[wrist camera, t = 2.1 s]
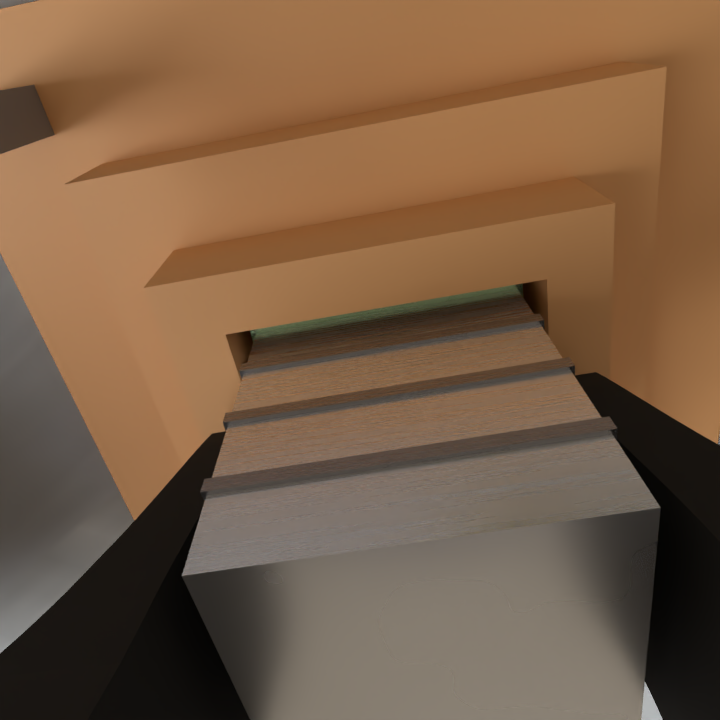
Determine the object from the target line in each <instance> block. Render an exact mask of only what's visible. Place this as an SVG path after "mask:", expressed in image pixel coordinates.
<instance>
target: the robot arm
mask: <svg viewBox="0 0 720 720" xmlns="http://www.w3.org/2000/svg"><path fill="white" fill-rule="evenodd" d="M575 378H576V379H577V381H578V382H579V384H580V385H581V387H582V388H583V390H584V391H585V393H586V394H587V396H588V398H589V399H590V401H591V402H592V404H593V405H594V407H595V408H596V410H597V411H598V413H599V414H600V416H601V417H610V418H611V420H612V421H613V422H614V424H615V425H616V427H617V428H618V430H617V442H618V443H619V445H620V446H621V448H622V449H623V451H624V453H625V454H626V456H627V457H628V459H629V460H630V462H631V463H632V465H633V466H634V468H635V469H636V471H637V472H638V474H639V475H640V477H641V478H642V480H643V482H644V483H645V485H646V486H647V488H648V489H649V491H650V492H651V494H652V495H653V497H654V498H655V500H656V501H657V503H658V504H659V506H660V508H661V509H660V520H659V531H658V542H657V553H656V563H655V574H654V585H653V596H652V607H651V617H650V628H649V639H648V650H647V661H646V671H645V682H646V684H647V686H648V688H649V690H650V692H651V694H652V696H653V699H654V701H655V703H656V705H657V707H658V710H659V712H660V714H661V716H662V718H663V720H720V445H718V444H716V443H715V442H713V441H711V440H709V439H708V438H706V437H704V436H702V435H701V434H699V433H697V432H696V431H694V430H692V429H690V428H689V427H687V426H685V425H684V424H682V423H680V422H679V421H677V420H675V419H674V418H672V417H670V416H669V415H667V414H665V413H664V412H662V411H660V410H659V409H657V408H655V407H654V406H652V405H651V404H649V403H647V402H646V401H644V400H642V399H641V398H639V397H637V396H636V395H634V394H633V393H631V392H629V391H628V390H626V389H624V388H623V387H621V386H619V385H618V384H616V383H614V382H613V381H611V380H609V379H608V378H606V377H604V376H602V375H601V374H599V373H597V372H593V373H587V374H580V375H575ZM225 433H226V431H224V432H218V433H212V434H211V435H210V436H209V437H208V438H207V439H206V440H205V441H204V442H203V443H202V445H201V446H200V447H199V448H198V449H197V450H196V451H195V452H194V454H193V455H192V456H191V457H190V458H189V459H188V460H187V462H186V463H185V464H184V465H183V466H182V467H181V468H180V470H179V471H178V472H177V473H176V474H175V475H174V477H173V478H172V479H171V480H170V481H169V482H168V484H167V485H166V486H165V487H164V488H163V489H162V490H161V492H160V493H159V494H158V495H157V496H156V497H155V498H154V499H153V501H152V502H151V503H150V504H149V505H148V506H147V507H146V508H145V510H144V511H143V512H142V513H141V514H140V515H139V516H138V517H137V519H136V520H135V521H134V522H133V523H132V524H131V525H130V526H129V528H128V529H127V530H126V531H125V532H124V533H123V534H122V535H121V536H120V537H119V538H118V539H117V540H116V541H115V542H114V543H113V545H112V546H111V547H110V548H109V549H108V550H107V551H106V552H105V553H104V554H103V555H102V556H101V557H100V558H99V559H98V560H97V561H96V562H95V563H94V564H93V565H92V566H91V567H90V568H89V569H88V570H87V571H86V573H85V574H84V575H83V576H82V577H81V578H80V579H79V580H78V581H77V582H76V583H75V584H74V585H73V586H72V587H71V588H70V589H69V590H68V591H67V592H66V593H65V594H64V595H63V596H62V597H61V598H60V599H59V600H58V601H57V602H56V603H55V604H54V605H53V606H52V607H51V608H50V609H49V610H48V611H46V612H45V613H44V614H43V615H42V616H41V617H40V618H39V619H38V620H37V621H36V622H35V623H34V624H33V625H32V626H31V627H29V628H28V629H27V630H26V631H25V632H24V633H23V634H22V635H21V636H19V637H18V638H17V639H16V640H15V641H14V642H13V643H12V644H10V645H9V646H8V647H7V648H6V649H5V650H4V651H3V652H2V653H0V720H250V718H249V716H248V714H247V712H246V710H245V708H244V706H243V704H242V701H241V699H240V697H239V695H238V693H237V691H236V689H235V687H234V685H233V683H232V680H231V678H230V676H229V674H228V672H227V670H226V668H225V666H224V664H223V662H222V659H221V657H220V655H219V653H218V651H217V649H216V647H215V645H214V643H213V641H212V638H211V636H210V634H209V632H208V630H207V628H206V626H205V624H204V622H203V620H202V617H201V615H200V613H199V611H198V609H197V607H196V605H195V603H194V601H193V599H192V596H191V594H190V592H189V590H188V588H187V586H186V584H185V582H184V580H183V578H182V573H183V570H184V567H185V564H186V560H187V557H188V554H189V551H190V547H191V544H192V541H193V538H194V534H195V531H196V528H197V525H198V521H199V518H200V515H201V511H202V508H203V505H204V500H203V498H202V496H201V493H200V491H201V488H202V485H203V482H204V479H207V478H212V476H213V472H214V469H215V466H216V463H217V459H218V456H219V453H220V449H221V446H222V443H223V440H224V436H225Z"/></svg>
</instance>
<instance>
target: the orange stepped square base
mask: <svg viewBox="0 0 720 720" xmlns="http://www.w3.org/2000/svg"><path fill="white" fill-rule="evenodd" d="M0 253H1V255H2V257H3V259H4V261H5V263H6V265H7V267H8V269H9V271H10V273H11V275H12V277H13V279H14V281H15V283H16V285H17V287H18V289H19V291H20V293H21V295H22V297H23V299H24V301H25V303H26V305H27V307H28V309H29V311H30V313H31V315H32V317H33V319H34V321H35V323H36V325H37V327H38V329H39V331H40V333H41V335H42V337H43V339H44V341H45V343H46V345H47V347H48V349H49V351H50V353H51V355H52V357H53V359H54V361H55V363H56V365H57V367H58V369H59V371H60V373H61V375H62V377H63V379H64V381H65V383H66V385H67V387H68V389H69V391H70V393H71V395H72V397H73V399H74V401H75V403H76V405H77V407H78V409H79V411H80V413H81V415H82V417H83V419H84V421H85V423H86V425H87V427H88V429H89V431H90V433H91V435H92V437H93V439H94V441H95V443H96V445H97V447H98V449H99V451H100V453H101V455H102V457H103V459H104V461H105V463H106V465H107V467H108V469H109V471H110V473H111V475H112V477H113V479H114V481H115V483H116V485H117V487H118V489H119V491H120V493H121V495H122V497H123V499H124V501H125V503H126V505H127V507H128V509H129V511H130V513H131V515H132V517H133V519H134V521H135V520H136V519H137V517H138V516H139V515H140V514H141V513H142V512H143V511H144V510H145V508H146V507H147V506H148V505H149V504H150V503H151V502H152V501H153V499H154V498H155V497H156V496H157V495H158V494H159V493H160V492H161V490H162V489H163V488H164V487H165V486H166V485H167V484H168V482H169V481H170V480H171V479H172V478H173V477H174V475H175V474H176V473H177V472H178V471H179V470H180V468H181V467H182V466H183V465H184V464H185V463H186V462H187V460H188V459H189V458H190V457H191V456H192V455H193V454H194V452H195V451H196V450H197V449H198V448H199V447H200V446H201V445H202V443H203V442H204V441H205V440H206V439H207V438H208V437H209V436H210V435H211V434H212V433H218V432H224V431H225V428H224V425H223V420H224V417H225V413H228V412H232V410H233V407H234V404H235V401H236V397H237V394H238V391H239V387H240V384H241V381H242V378H241V375H240V372H239V370H240V367H241V364H243V363H247V361H248V358H249V355H250V352H251V348H252V345H253V340H252V337H251V334H250V330H255V329H261V328H267V327H273V326H278V325H284V324H290V323H296V322H302V321H307V320H313V319H319V318H325V317H331V316H336V315H342V314H348V313H354V312H360V311H365V310H371V309H377V308H383V307H389V306H394V305H400V304H406V303H412V302H418V301H423V300H429V299H435V298H441V297H447V296H452V295H458V294H464V293H470V292H476V291H481V290H487V289H493V288H499V287H505V286H510V285H516V284H522V283H523V298H524V300H525V301H526V303H527V304H528V306H529V307H530V309H531V310H532V312H533V314H540V315H541V316H542V318H543V319H544V330H545V332H546V333H547V335H548V336H549V338H550V340H551V341H552V343H553V344H554V346H555V347H556V349H557V350H558V352H559V353H560V355H561V356H562V358H567V357H570V359H571V360H572V362H573V363H574V365H575V375H580V374H587V373H593V372H597V373H599V374H601V375H602V376H604V377H606V378H608V379H609V380H611V381H613V382H614V383H616V384H618V385H619V386H621V387H623V388H624V389H626V390H628V391H629V392H631V393H633V394H634V395H636V396H637V397H639V398H641V399H642V400H644V401H646V402H647V403H649V404H651V405H652V406H654V407H655V408H657V409H659V410H660V411H662V412H664V413H665V414H667V415H669V416H670V417H672V418H674V419H675V420H677V421H679V422H680V423H682V424H684V425H685V426H687V427H689V428H690V429H692V430H694V431H696V432H697V433H699V434H701V435H702V436H704V437H706V438H708V439H709V440H711V441H713V442H715V443H716V444H718V438H719V431H720V0H38V1H34V2H29V3H25V4H20V5H16V6H11V7H7V8H2V9H0Z"/></svg>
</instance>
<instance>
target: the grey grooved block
mask: <svg viewBox="0 0 720 720" xmlns="http://www.w3.org/2000/svg"><path fill="white" fill-rule="evenodd" d="M250 334H251V337H252V340H253V345H252V348H251V352H250V355H249V358H248V361H247V363H243V364H241V367H240V370H239V372H240V375H241V378H242V381H241V384H240V387H239V391H238V394H237V397H236V401H235V404H234V407H233V410H232V412H228V413H225V417H224V420H223V425H224V428H225V431H226V433H225V436H224V440H223V443H222V446H221V449H220V453H219V456H218V459H217V463H216V466H215V469H214V472H213V476H212V478H207V479H204V482H203V485H202V488H201V491H200V493H201V496H202V498H203V500H204V505H203V508H202V511H201V515H200V518H199V521H198V525H197V528H196V531H195V534H194V538H193V541H192V544H191V547H190V551H189V554H188V557H187V560H186V564H185V567H184V570H183V573H182V578H183V580H184V582H185V584H186V586H187V588H188V590H189V592H190V594H191V596H192V599H193V601H194V603H195V605H196V607H197V609H198V611H199V613H200V615H201V617H202V620H203V622H204V624H205V626H206V628H207V630H208V632H209V634H210V636H211V638H212V641H213V643H214V645H215V647H216V649H217V651H218V653H219V655H220V657H221V659H222V662H223V664H224V666H225V668H226V670H227V672H228V674H229V676H230V678H231V680H232V683H233V685H234V687H235V689H236V691H237V693H238V695H239V697H240V699H241V701H242V704H243V706H244V708H245V710H246V712H247V714H248V716H249V718H250V720H641V714H642V704H643V693H644V682H645V671H646V661H647V650H648V639H649V628H650V617H651V607H652V596H653V585H654V574H655V563H656V553H657V542H658V531H659V520H660V509H661V508H660V506H659V504H658V503H657V501H656V500H655V498H654V497H653V495H652V494H651V492H650V491H649V489H648V488H647V486H646V485H645V483H644V482H643V480H642V478H641V477H640V475H639V474H638V472H637V471H636V469H635V468H634V466H633V465H632V463H631V462H630V460H629V459H628V457H627V456H626V454H625V453H624V451H623V449H622V448H621V446H620V445H619V443H618V442H617V430H618V428H617V427H616V425H615V424H614V422H613V421H612V420H611V418H610V417H601V416H600V414H599V413H598V411H597V410H596V408H595V407H594V405H593V404H592V402H591V401H590V399H589V398H588V396H587V394H586V393H585V391H584V390H583V388H582V387H581V385H580V384H579V382H578V381H577V379H576V378H575V365H574V363H573V362H572V360H571V359H570V357H567V358H562V356H561V355H560V353H559V352H558V350H557V349H556V347H555V346H554V344H553V343H552V341H551V340H550V338H549V336H548V335H547V333H546V332H545V330H544V319H543V318H542V316H541V315H540V314H533V312H532V310H531V309H530V307H529V306H528V304H527V303H526V301H525V300H524V298H523V283H522V284H516V285H510V286H505V287H499V288H493V289H487V290H481V291H476V292H470V293H464V294H458V295H452V296H447V297H441V298H435V299H429V300H423V301H418V302H412V303H406V304H400V305H394V306H389V307H383V308H377V309H371V310H365V311H360V312H354V313H348V314H342V315H336V316H331V317H325V318H319V319H313V320H307V321H302V322H296V323H290V324H284V325H278V326H273V327H267V328H261V329H255V330H250Z"/></svg>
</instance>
